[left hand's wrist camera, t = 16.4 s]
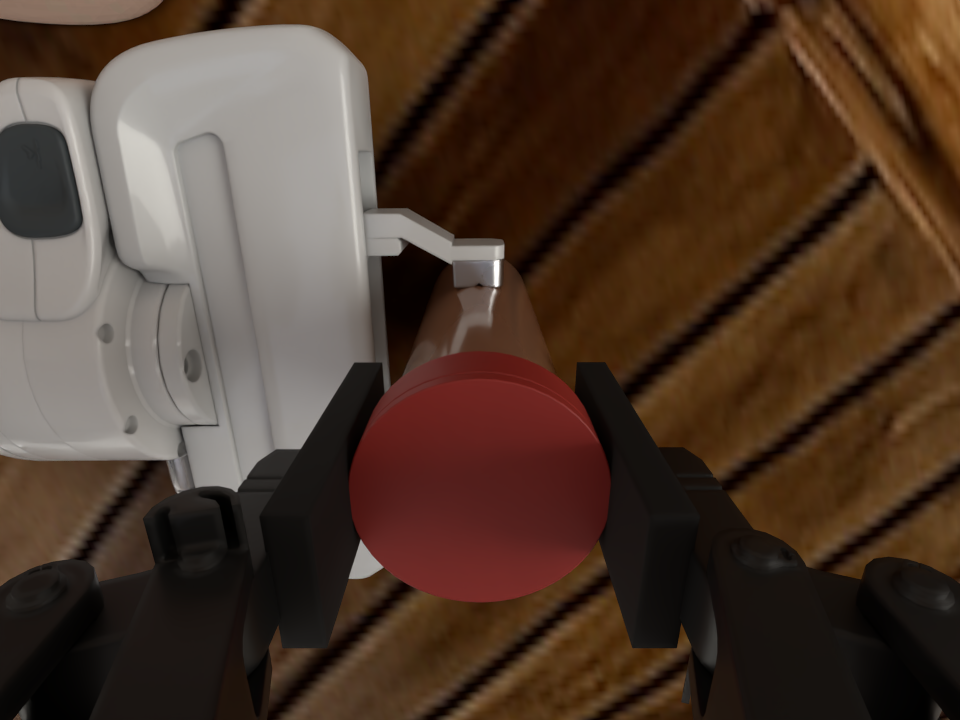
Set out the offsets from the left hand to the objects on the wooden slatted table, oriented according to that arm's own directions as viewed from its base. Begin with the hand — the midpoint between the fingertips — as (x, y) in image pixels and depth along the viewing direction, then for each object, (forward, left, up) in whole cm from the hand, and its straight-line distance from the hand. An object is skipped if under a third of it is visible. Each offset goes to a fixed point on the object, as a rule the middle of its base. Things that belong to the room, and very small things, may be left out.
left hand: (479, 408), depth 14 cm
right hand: (+1, -1, -6) cm, 6 cm away
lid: (0, 0, +4) cm, 4 cm away
